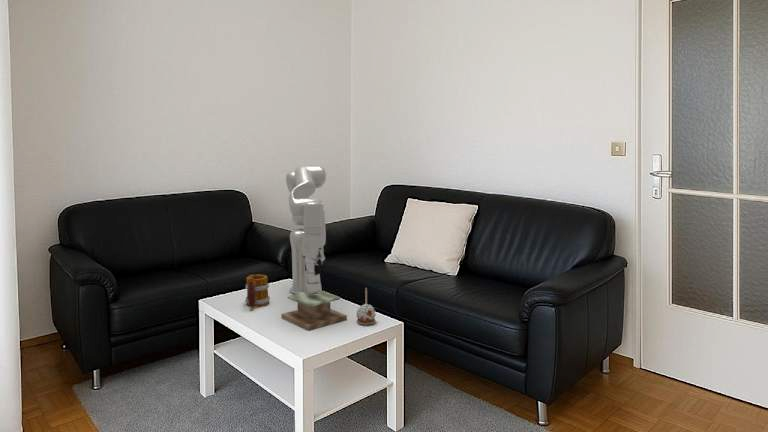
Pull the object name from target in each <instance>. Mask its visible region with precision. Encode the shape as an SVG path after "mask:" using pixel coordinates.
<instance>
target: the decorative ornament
mask: <svg viewBox="0 0 768 432" xmlns="http://www.w3.org/2000/svg"><path fill="white" fill-rule="evenodd" d="M364 289H365V290H364V296H365V301H364V304H362V305H359V307H358V308H357V310H356V318H357V319H356V323H357V324H358V325H359V324H360V325H367V326H368V325H371V324H372V325H373V324H375V323H376V318H375V317H376V310H375V307H373V306H372V305H371V304H368V288H367V287H365V288H364Z"/></svg>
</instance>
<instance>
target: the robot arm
mask: <svg viewBox="0 0 768 432" xmlns="http://www.w3.org/2000/svg"><path fill="white" fill-rule="evenodd" d="M326 180H327V173H326V170H325V168H324V167H323V166H322V165H301V166H298V167H296V168H295V170H293V171H289V172H287V174H286V175H285V183H286V187H287V189H288V192H289V195H288V205H289V211H290V214H291V215H292V216H291V217H292V222H293V225H295V226H303V228H295V229H292V231H290V233H289V242H290V246H291V247H290V248H291V262H292V263H291V265H292V267H291V268H292V287H290V288H289V292H290V293H291V294H292V295H295V294H299V293H303V292H307V291H306V283H307V269H306V263H305V259H306V257H309V258H311V259H314V260H315V264H316V265H315V274H320V275H321V274H323V273H322V272H323V271H322V269H323V267H322V265H323V263H324V261H325V260H326V257H325V253H324V246H325V245H326V243H327V242H326V241H327V234H326V233H327V232H326V230H327V229H326V213H325V210H324V202H323V201H322V199H320V198H318V197H314V198H313V197H312V198H311V196H312V195H314V194H315V192H316V189H320V188H322V187H323V186H324V184H325V183H326ZM317 259H319V260H318V261H317Z"/></svg>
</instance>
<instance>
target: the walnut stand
mask: <svg viewBox="0 0 768 432" xmlns="http://www.w3.org/2000/svg"><path fill="white" fill-rule="evenodd" d="M287 299H289V300H291V301H292V302H295V303H296V304H297V309H296V310H292V311H288V312H284V313H281V319H282V320H284V321H286V322H288V323H291V324H292V325H294V326H297V327H300V328H302V329H305V330H306V331H312V330H315V329H319V328H322V327H326V326H330V325H334V324H337V323H340V322H343V321H347V320H348V315H347V314H344V313H342V312H340V311H336V310H334V309H331V302H336V301H340V300H341V297H340V296H338V295H335V294H332V293H330V292H328V291H325V290H322V289H321V292H320V293H319V294H308V293H307V292H303V293H299V294H291V295H288V296H287Z"/></svg>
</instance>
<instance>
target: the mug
mask: <svg viewBox="0 0 768 432" xmlns="http://www.w3.org/2000/svg"><path fill="white" fill-rule="evenodd" d="M245 278H246V284H245V287H244V288H245V289H246V292H247V293H246V297H245V300H244V302H245V303H246V306H247V307H250V309H254V308H260V307H266V306H268V305H270V298H271V297H270V295H269V287H270V283H269V282H268V280H269V279H268V276H267V275H266V274H265V275H264V274H251V275H248V276H247V277H245Z"/></svg>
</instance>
